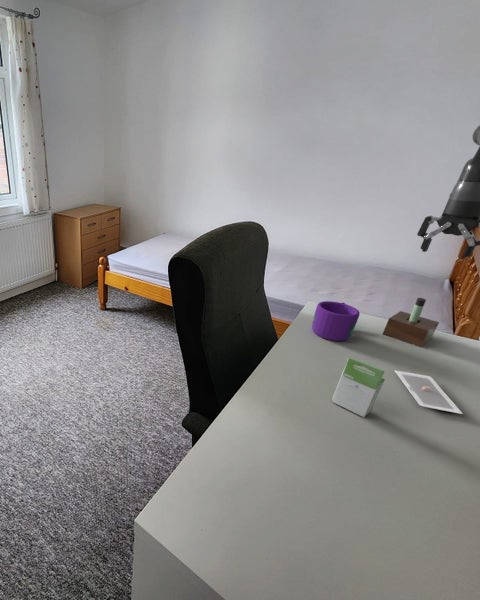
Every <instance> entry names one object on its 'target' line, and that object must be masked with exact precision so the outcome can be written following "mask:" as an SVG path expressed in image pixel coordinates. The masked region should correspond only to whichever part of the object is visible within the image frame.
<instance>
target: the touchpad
mask: <svg viewBox="0 0 480 600" xmlns="http://www.w3.org/2000/svg"><path fill="white" fill-rule="evenodd" d="M394 372H395V374H396V375H397V377H398V378H399V379H400V381H401V382H402V384H404V386H405V387H406V389H407V390H408V391H409V393H410V394H411V395H412V397H413V399H414V400H415V401H416V403H418V405H419V406H420V407H423V408H428V409H429V408H430V409H435V410H439V411H445V412H450V413H454V414H460V415H464V413H463V412H462V411H461V410H460V408H459V407H458V406H457V405H456V404H455V403H454V402H453V401H452V399H451V398H450V397H449V396H448V395H447V394H446V393H445V391H444V390H443V389H442V388H441V386H439V384H438V383H437V382H436V380H435V379H433V378H432V376H430V375H425V374H420V373H419V374H418V373H413V372H407V371H402V370H401V371H400V370H394Z"/></svg>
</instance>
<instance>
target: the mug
mask: <svg viewBox="0 0 480 600" xmlns="http://www.w3.org/2000/svg"><path fill="white" fill-rule="evenodd" d="M360 315H361V314H360V311H359V310H358V308H356V307H354V306H352V305H349V304H346V303H345V302H338V301H332V300H325V301H320V302H319V303H317V304H316V308H315V311H314V315H313V320H312V324H311V329H312V332H313V333H314V334H315V335H317V336H318V337H320V338H322V339H325V340H328V341H332V342H343V341H346V340H348V339H349V338H350V337H351V336H352V334H353V332H354V330H355V328H356V326H357V323H358V320H359V317H360Z"/></svg>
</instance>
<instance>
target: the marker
mask: <svg viewBox="0 0 480 600" xmlns="http://www.w3.org/2000/svg"><path fill="white" fill-rule="evenodd" d="M426 302H427V299H426V298H424V297H417V298H416V301H415V303H414V306H413V308H412V311H411V313H410V314H411V316H410V318H409V321H412V322H415V323H417V321H418V319H419V317H421V314H422V311H423V309H424V307H425V304H426Z"/></svg>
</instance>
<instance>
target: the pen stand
mask: <svg viewBox="0 0 480 600" xmlns="http://www.w3.org/2000/svg"><path fill="white" fill-rule="evenodd" d="M410 316H411V313H409V312H406V311H402V310H400V311H398V312H396V313H395V314H393V315H392V316H390V317H389V318H388V319H387V322H386V325H385V327H384V329H383V332H382V335H383V336H386V337H390V338H393V339H396V340H398V339H399V340H398V341H401V340H402V341H401V342H404V343H407V344H409V345H413V344H414V345H413V346H416V347H418V346H419V348H422V347H423V346H424V345H426V344H427V343H428V342H429V341H430V340H431V339H432V338H433V336H434V334H435V332H436V330H437V328H438V326H439V324H440V322H439V321H436V320H433V319H430V318H427V317H422V316H419V319H418V321H417V323H415V322H412V321H409V318H410ZM428 340H429V341H428ZM427 341H428V342H427ZM421 346H422V347H421Z"/></svg>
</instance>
